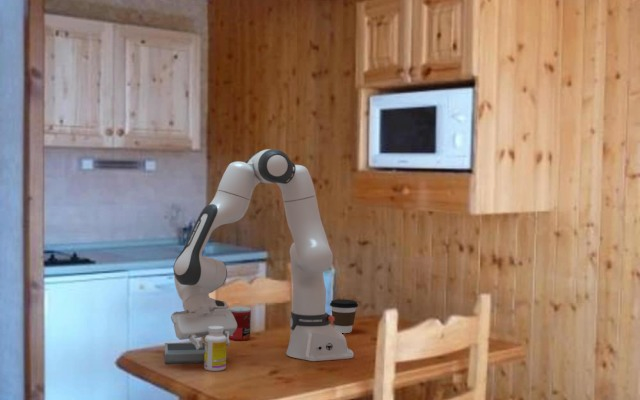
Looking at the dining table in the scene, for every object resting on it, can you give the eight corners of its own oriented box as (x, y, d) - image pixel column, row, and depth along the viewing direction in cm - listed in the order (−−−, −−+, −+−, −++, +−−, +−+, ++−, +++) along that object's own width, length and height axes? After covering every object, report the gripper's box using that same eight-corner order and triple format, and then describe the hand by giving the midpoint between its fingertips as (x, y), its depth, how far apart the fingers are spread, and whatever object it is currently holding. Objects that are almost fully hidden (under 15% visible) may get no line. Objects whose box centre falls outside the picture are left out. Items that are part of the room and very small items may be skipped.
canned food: (246, 341, 266) (247, 311, 266) (225, 340, 267) (226, 309, 267) (252, 337, 273) (253, 307, 273) (231, 335, 275) (232, 306, 275)
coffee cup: (362, 332, 288) (363, 301, 287) (344, 336, 280) (346, 304, 279) (341, 328, 295) (342, 298, 295) (323, 332, 287) (324, 301, 286)
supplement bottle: (230, 368, 229) (231, 326, 229) (217, 372, 223) (218, 330, 223) (212, 365, 232) (213, 324, 232) (199, 369, 226) (200, 327, 226)
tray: (217, 351, 251) (218, 342, 251) (222, 362, 235) (222, 353, 235) (164, 352, 247) (164, 343, 247) (165, 364, 232) (165, 354, 232)
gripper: (172, 306, 228) (186, 344, 220) (230, 301, 240) (245, 337, 233) (165, 318, 231) (179, 356, 224) (223, 313, 244) (237, 348, 236)
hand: (213, 346), depth 228 cm, fingers open, 8 cm apart
